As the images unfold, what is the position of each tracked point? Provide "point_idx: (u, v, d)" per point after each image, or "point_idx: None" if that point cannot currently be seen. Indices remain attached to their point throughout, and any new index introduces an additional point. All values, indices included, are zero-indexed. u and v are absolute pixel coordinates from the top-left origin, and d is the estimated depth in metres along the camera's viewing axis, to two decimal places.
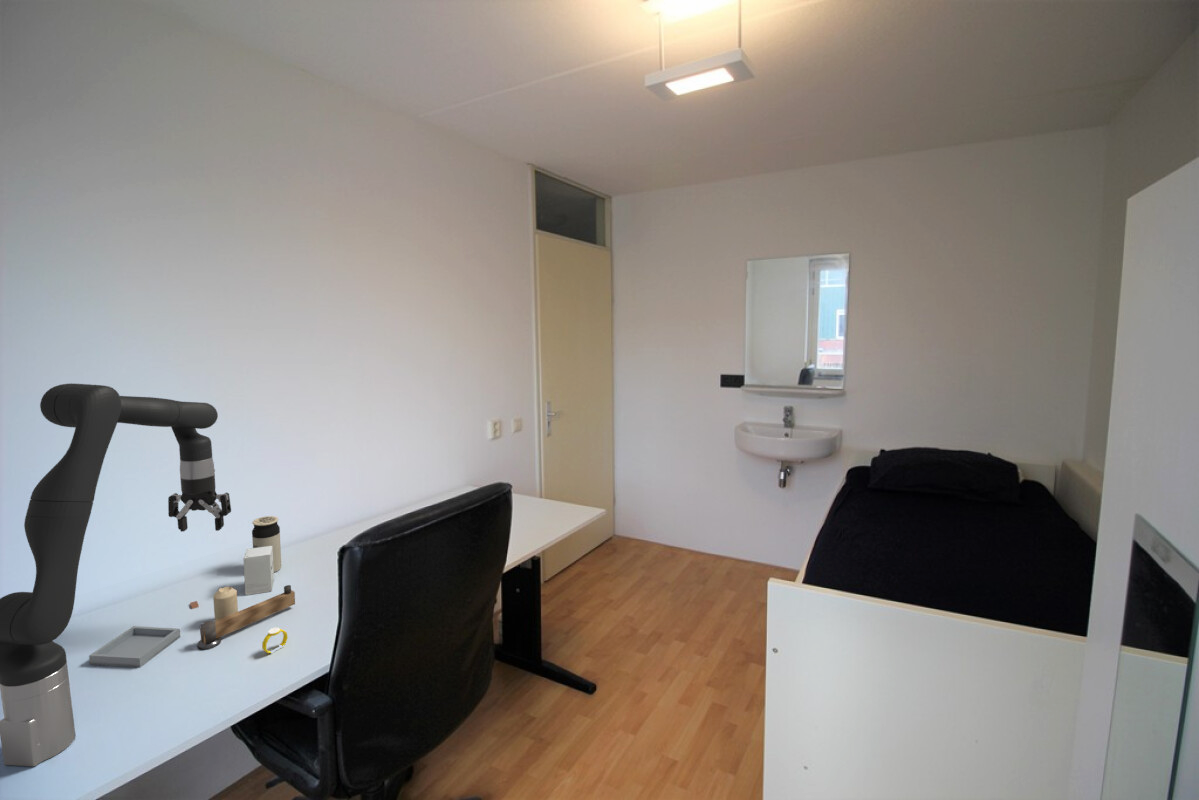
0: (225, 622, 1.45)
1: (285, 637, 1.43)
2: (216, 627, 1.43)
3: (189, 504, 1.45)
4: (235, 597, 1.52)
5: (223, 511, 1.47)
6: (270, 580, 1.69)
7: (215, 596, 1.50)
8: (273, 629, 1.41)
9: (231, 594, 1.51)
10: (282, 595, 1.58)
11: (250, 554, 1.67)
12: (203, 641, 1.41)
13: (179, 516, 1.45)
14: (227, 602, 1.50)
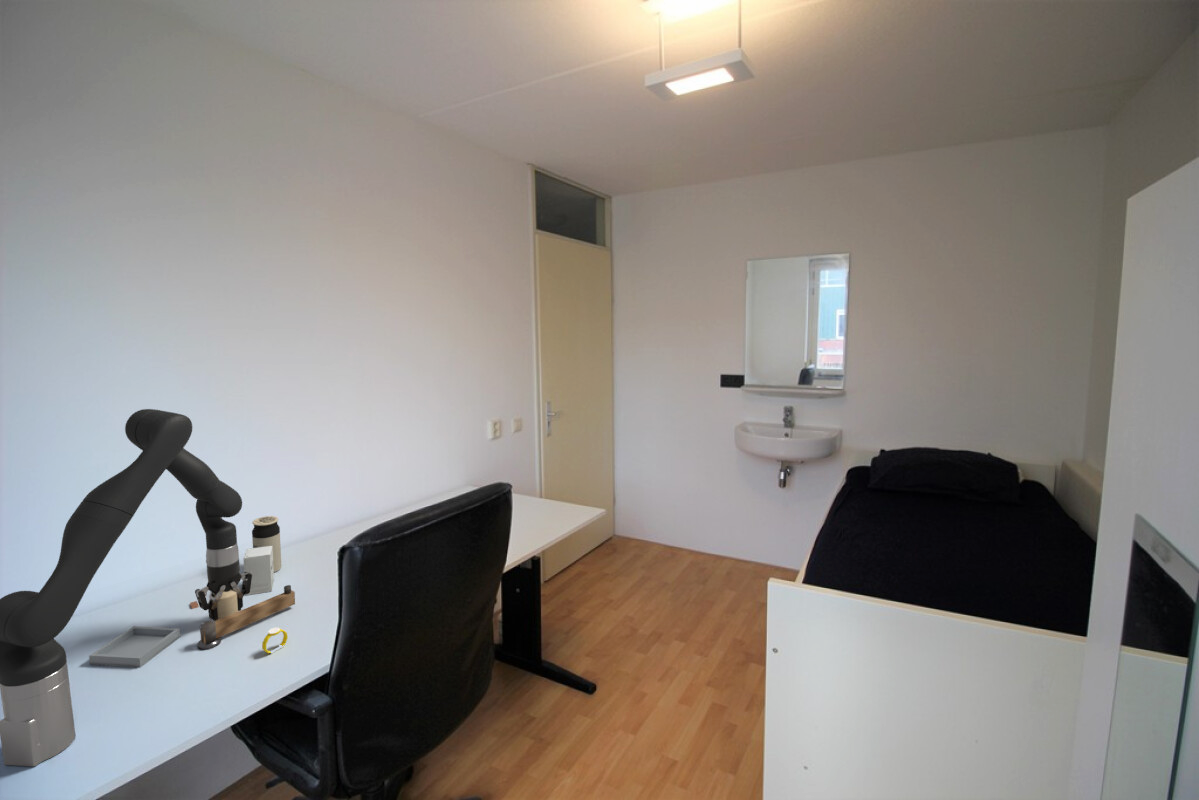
0: (225, 622, 1.45)
1: (285, 637, 1.43)
2: (216, 627, 1.43)
3: (222, 590, 1.49)
4: (235, 597, 1.52)
5: (247, 589, 1.56)
6: (270, 580, 1.69)
7: (215, 596, 1.50)
8: (273, 629, 1.41)
9: (231, 594, 1.51)
10: (282, 595, 1.58)
11: (250, 554, 1.67)
12: (203, 641, 1.41)
13: (214, 606, 1.49)
14: (227, 602, 1.50)
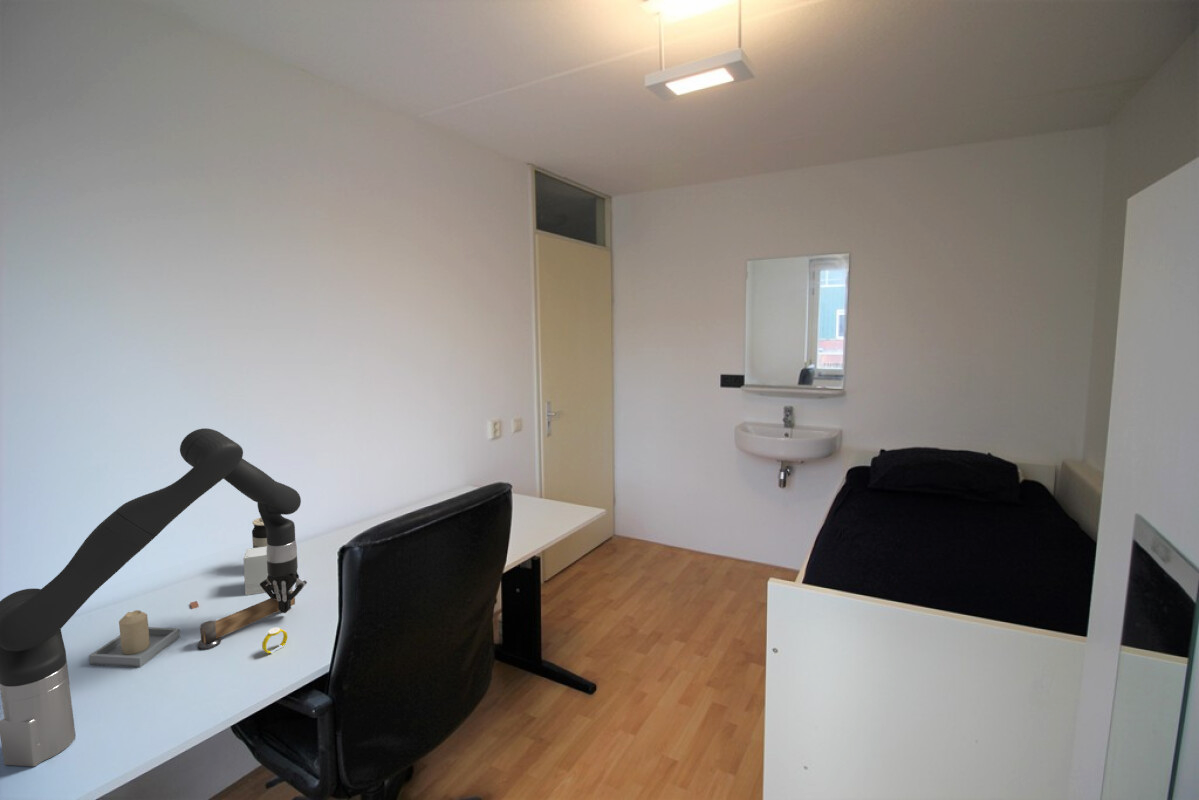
0: (225, 622, 1.45)
1: (285, 637, 1.43)
2: (216, 627, 1.43)
3: None
4: (144, 622, 1.37)
5: None
6: None
7: (121, 621, 1.35)
8: (273, 629, 1.41)
9: (139, 620, 1.36)
10: None
11: (250, 554, 1.67)
12: (203, 641, 1.41)
13: None
14: (134, 628, 1.35)
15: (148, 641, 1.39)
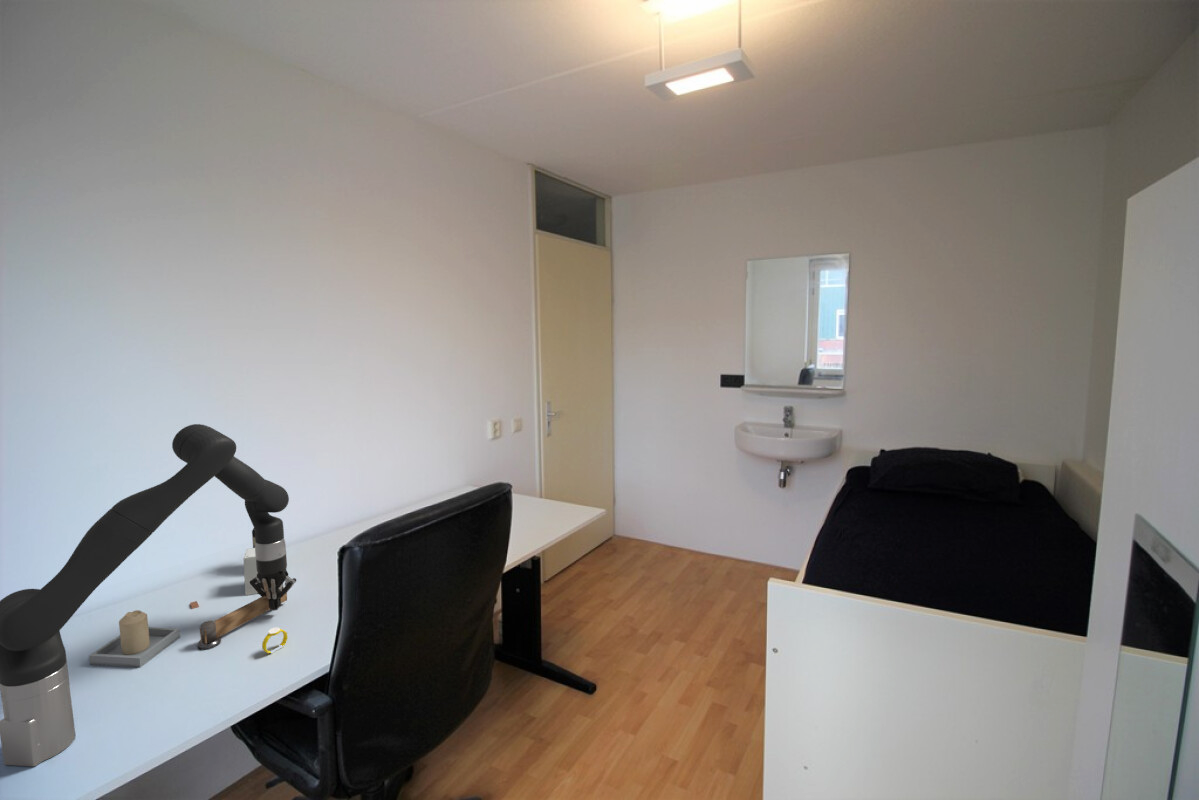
0: (224, 621, 1.45)
1: (285, 637, 1.43)
2: (216, 626, 1.43)
3: None
4: (144, 622, 1.37)
5: None
6: None
7: (121, 621, 1.35)
8: (273, 629, 1.41)
9: (139, 620, 1.36)
10: None
11: (250, 554, 1.67)
12: (204, 641, 1.41)
13: None
14: (134, 628, 1.35)
15: (148, 641, 1.39)
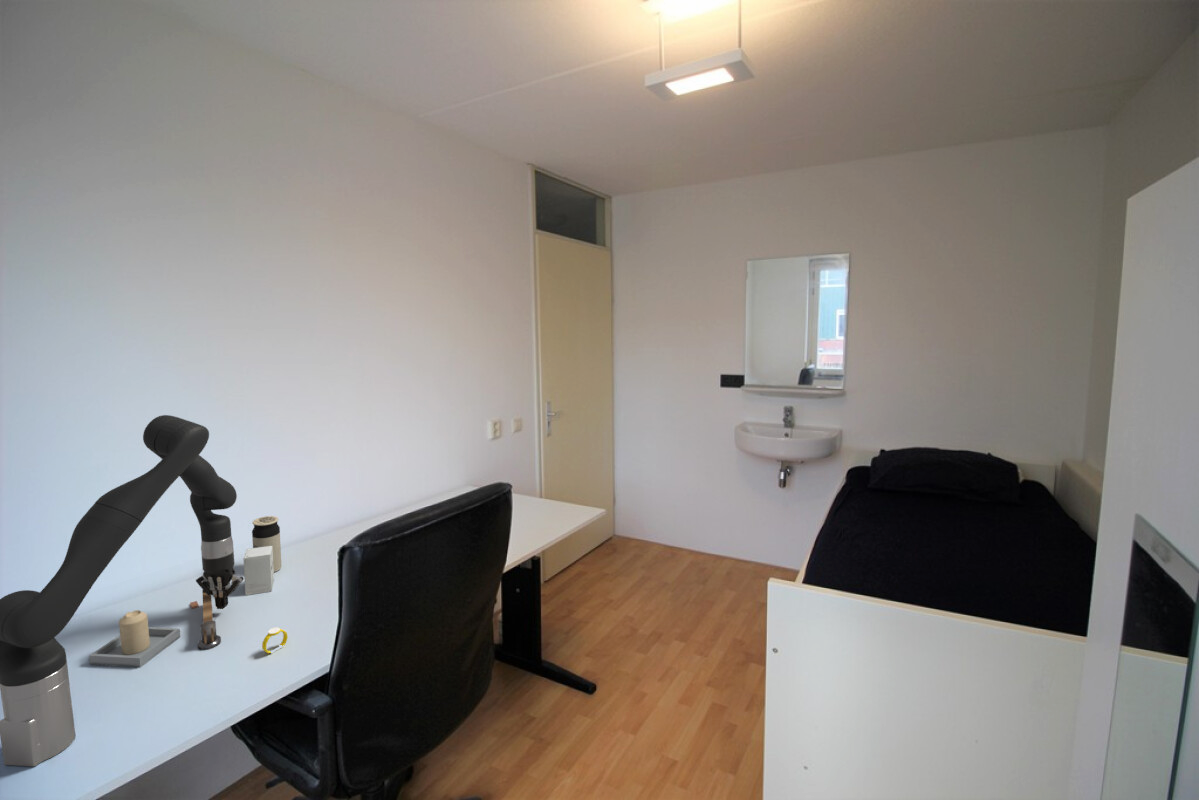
0: (212, 619, 1.45)
1: (285, 637, 1.43)
2: None
3: None
4: (144, 622, 1.37)
5: None
6: (270, 580, 1.69)
7: (121, 621, 1.35)
8: (273, 629, 1.41)
9: (139, 620, 1.36)
10: None
11: (250, 554, 1.67)
12: (211, 640, 1.41)
13: None
14: (134, 628, 1.35)
15: (148, 641, 1.39)
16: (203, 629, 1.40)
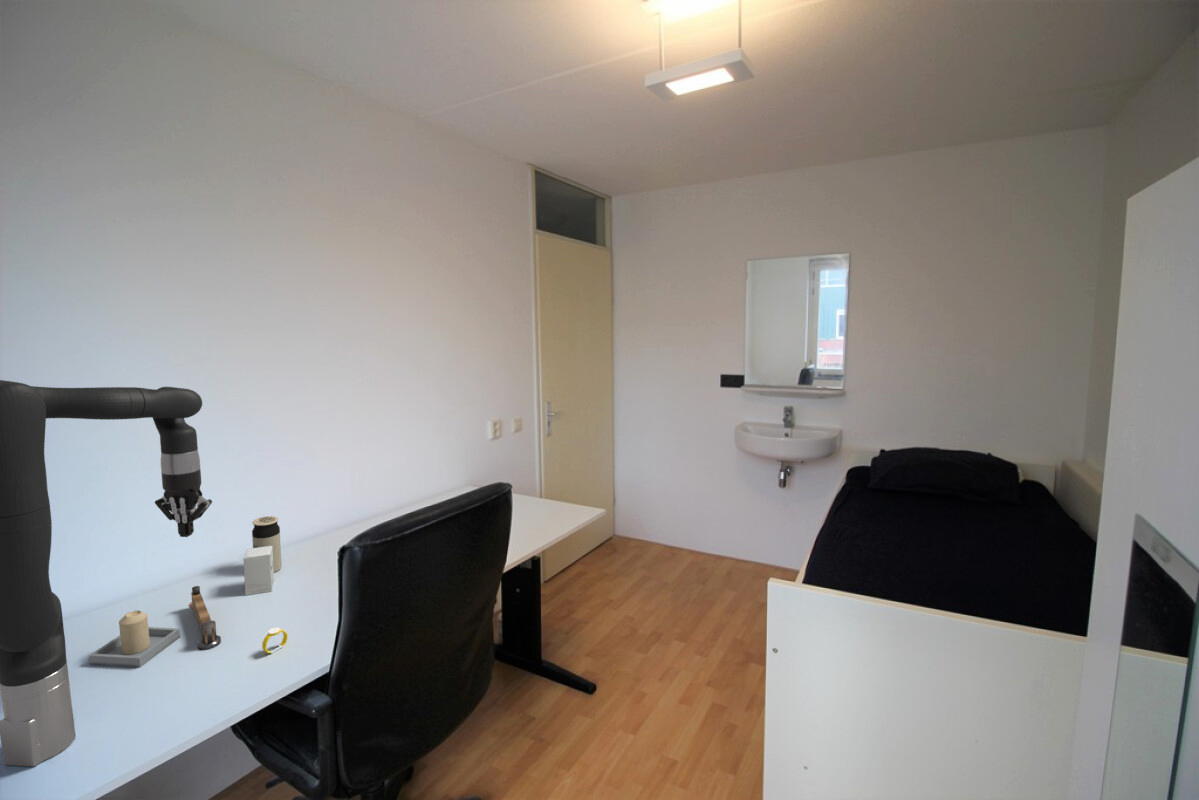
0: (210, 620, 1.45)
1: (285, 637, 1.43)
2: None
3: None
4: (144, 622, 1.37)
5: None
6: (270, 580, 1.69)
7: (121, 621, 1.35)
8: (273, 629, 1.41)
9: (139, 620, 1.36)
10: (198, 595, 1.56)
11: (250, 554, 1.67)
12: (212, 639, 1.42)
13: None
14: (134, 628, 1.35)
15: (148, 641, 1.39)
16: (204, 629, 1.40)
